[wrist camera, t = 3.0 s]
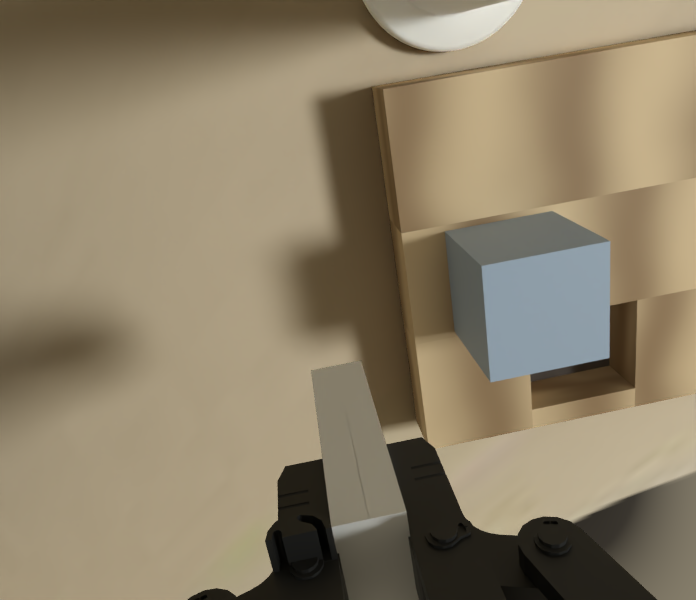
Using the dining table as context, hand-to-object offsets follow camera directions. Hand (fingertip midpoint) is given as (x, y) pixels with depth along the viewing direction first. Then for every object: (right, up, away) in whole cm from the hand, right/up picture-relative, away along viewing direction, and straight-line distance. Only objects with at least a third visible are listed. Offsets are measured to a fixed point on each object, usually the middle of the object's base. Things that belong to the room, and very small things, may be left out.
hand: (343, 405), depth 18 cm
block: (+7, +4, +7) cm, 11 cm away
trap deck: (+14, +7, +10) cm, 19 cm away
